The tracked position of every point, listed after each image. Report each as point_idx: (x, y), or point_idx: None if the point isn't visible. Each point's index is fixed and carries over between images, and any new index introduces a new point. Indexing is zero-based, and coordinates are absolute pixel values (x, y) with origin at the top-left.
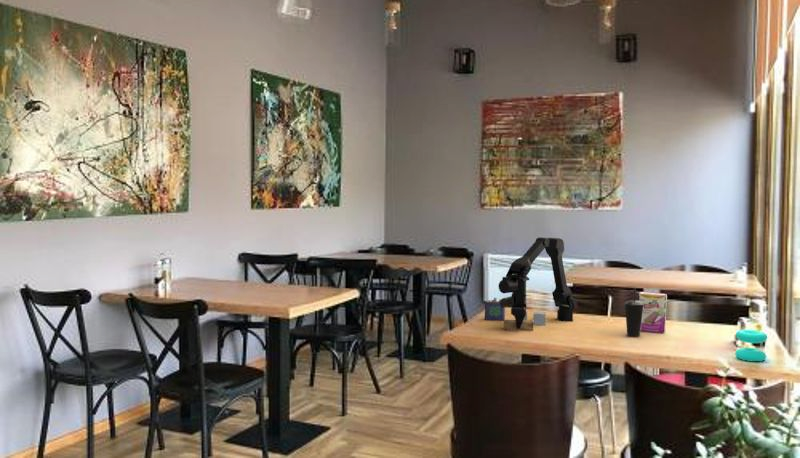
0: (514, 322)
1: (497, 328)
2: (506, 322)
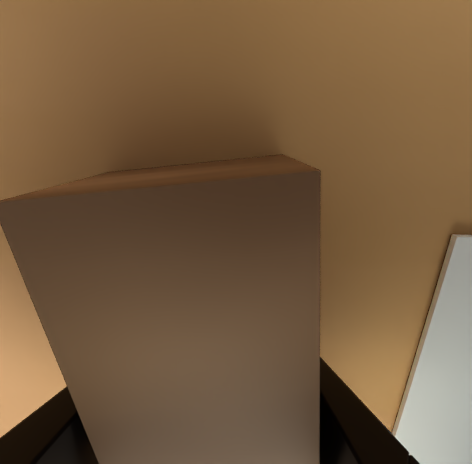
0: (73, 389)
1: (254, 39)
2: (20, 236)
